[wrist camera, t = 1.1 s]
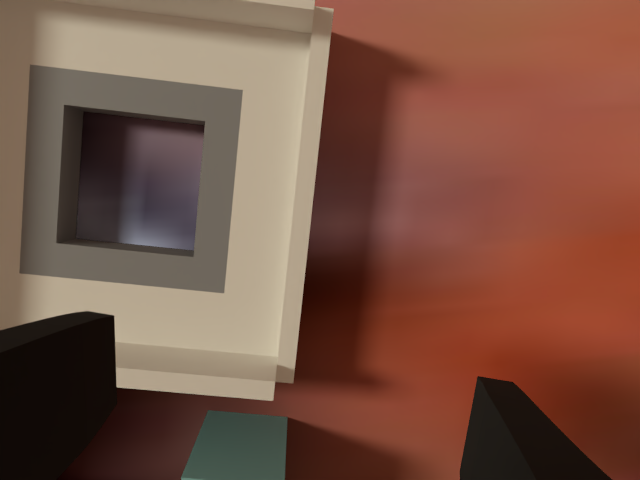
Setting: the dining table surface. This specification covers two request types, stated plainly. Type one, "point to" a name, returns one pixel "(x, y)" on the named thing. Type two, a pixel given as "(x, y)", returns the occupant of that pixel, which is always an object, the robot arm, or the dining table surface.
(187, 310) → the walled box
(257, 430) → the block
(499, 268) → the dining table surface
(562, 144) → the dining table surface
